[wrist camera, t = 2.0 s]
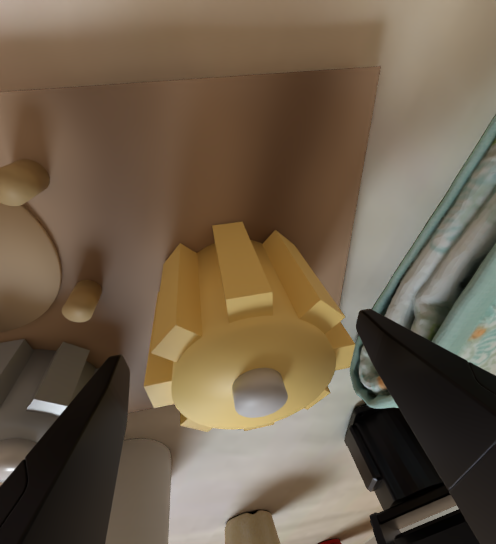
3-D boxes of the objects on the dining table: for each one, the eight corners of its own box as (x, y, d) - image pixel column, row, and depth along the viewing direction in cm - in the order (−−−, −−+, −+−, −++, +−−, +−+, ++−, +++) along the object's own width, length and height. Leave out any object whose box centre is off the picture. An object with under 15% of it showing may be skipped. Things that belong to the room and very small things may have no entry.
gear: (91, 326, 12) (57, 405, 9) (135, 406, 16) (122, 482, 13) (-76, 354, 11) (-175, 452, 8) (12, 431, 15) (-33, 519, 12)
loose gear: (307, 211, 11) (393, 295, 6) (299, 327, 15) (350, 432, 10) (140, 233, 10) (101, 348, 6) (176, 350, 14) (171, 475, 9)
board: (360, 69, 10) (410, 62, 7) (320, 356, 19) (337, 390, 16) (-327, 116, 7) (-542, 124, 5) (8, 419, 16) (-20, 468, 14)
